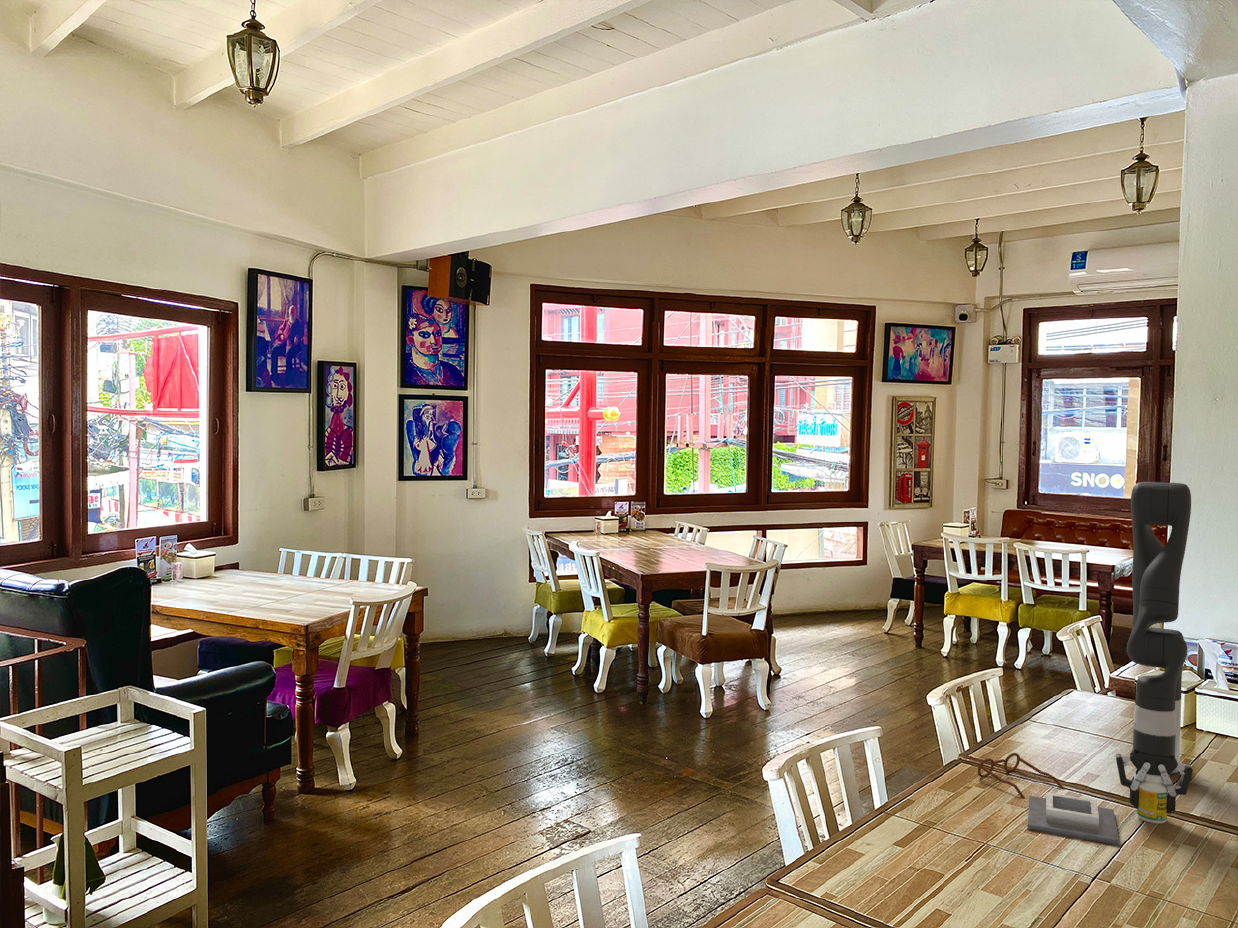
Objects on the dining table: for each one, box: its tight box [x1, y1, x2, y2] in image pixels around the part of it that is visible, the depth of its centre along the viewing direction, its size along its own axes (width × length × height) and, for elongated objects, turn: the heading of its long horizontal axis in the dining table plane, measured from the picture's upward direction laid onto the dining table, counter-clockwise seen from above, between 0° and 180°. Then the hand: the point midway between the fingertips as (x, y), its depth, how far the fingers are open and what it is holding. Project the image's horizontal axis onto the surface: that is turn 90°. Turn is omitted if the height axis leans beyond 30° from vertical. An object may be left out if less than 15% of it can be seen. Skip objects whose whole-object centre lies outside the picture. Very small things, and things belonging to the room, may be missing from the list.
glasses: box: [977, 752, 1066, 800], centre depth 204 cm, size 13×13×5 cm
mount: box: [1027, 792, 1120, 846], centre depth 184 cm, size 16×16×4 cm
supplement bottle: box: [1136, 774, 1168, 825], centre depth 186 cm, size 5×5×10 cm
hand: (1151, 809), depth 186 cm, fingers closed on supplement bottle, 5 cm apart
